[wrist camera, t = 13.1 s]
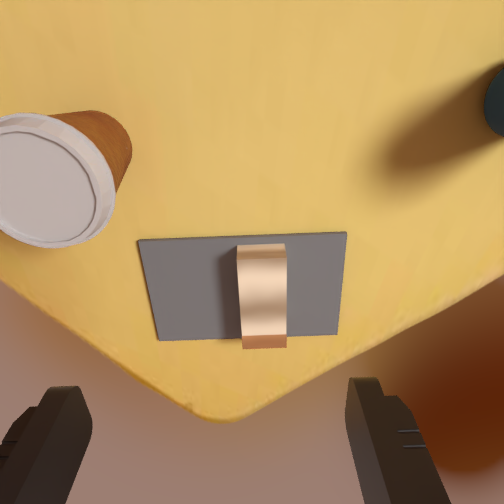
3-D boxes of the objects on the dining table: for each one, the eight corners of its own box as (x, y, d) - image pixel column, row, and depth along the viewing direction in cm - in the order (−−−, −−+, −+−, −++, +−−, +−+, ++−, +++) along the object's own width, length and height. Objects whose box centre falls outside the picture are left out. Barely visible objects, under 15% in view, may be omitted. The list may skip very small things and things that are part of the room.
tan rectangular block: (237, 245, 40) (236, 259, 38) (284, 243, 40) (287, 257, 38) (242, 331, 46) (242, 349, 44) (284, 329, 46) (286, 347, 43)
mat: (160, 338, 47) (159, 341, 47) (139, 239, 40) (138, 241, 40) (336, 332, 47) (337, 334, 47) (346, 231, 40) (347, 233, 40)
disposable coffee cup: (108, 70, 32) (41, 87, 22) (169, 167, 37) (137, 220, 26) (22, 122, 34) (-76, 160, 24) (90, 208, 39) (31, 273, 28)
